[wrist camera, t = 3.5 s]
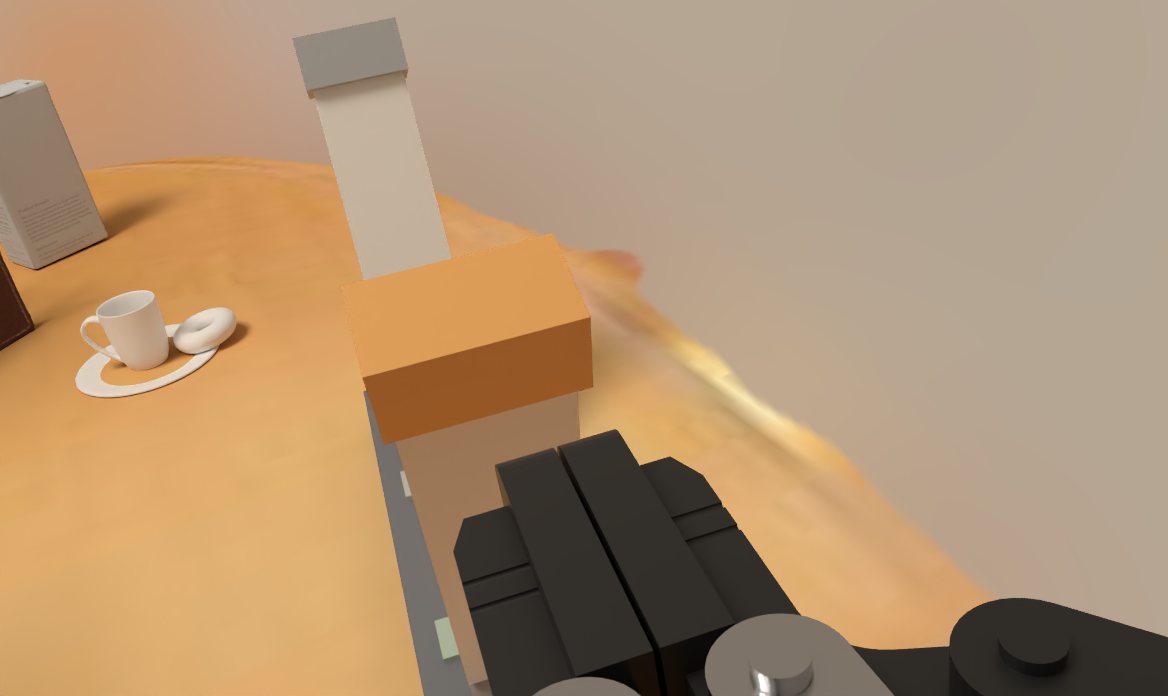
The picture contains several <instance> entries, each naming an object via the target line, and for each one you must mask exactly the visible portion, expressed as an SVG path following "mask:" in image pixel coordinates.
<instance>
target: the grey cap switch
mask: <svg viewBox="0 0 1168 696" xmlns="http://www.w3.org/2000/svg"><path fill="white" fill-rule="evenodd" d="M293 42H294V46H295V49H296V53H297V57H298V61H299V64H300V68H301V72H302V75H303V79H304V82H305V86H306V90H307V93H308V95H309V98H310V99H312V98H314V99H315V102H316V106H317V109H318V113H319V117H320V121H321V124H322V128H323V132H324V136H325V139H326V143H327V147H328V150H329V154H330V158H331V161H332V165H333V169H334V172H335V176H336V180H337V183H338V187H339V191H340V194H341V198H342V202H343V205H344V209H345V213H346V216H347V220H348V224H349V227H350V231H351V235H352V238H353V242H354V246H355V249H356V253H357V257H358V260H359V264H360V268H361V271H362V275H363V279H364V280H368V279H372V278H376V277H380V276H384V275H388V274H392V273H396V272H400V271H404V270H408V269H412V268H416V267H420V266H424V265H428V264H432V263H436V262H440V261H444V260H448V259H452V258H451V254H450V250H449V246H448V242H447V239H446V235H445V231H444V227H443V223H442V219H441V216H440V212H439V208H438V204H437V200H436V196H435V193H434V189H433V185H432V181H431V177H430V174H429V169H428V166H427V162H426V158H425V154H424V151H423V146H422V143H421V139H420V135H419V131H418V127H417V124H416V120H415V116H414V112H413V108H412V104H411V101H410V96H409V93H408V89H407V85H406V81H405V78H406V77H407V73H408V65H407V62H406V58H405V54H404V50H403V47H402V42H401V39H400V35H399V31H398V27H397V23H396V19H395V18H389V19H385V20H380V21H375V22H370V23H365V24H360V25H355V26H351V27H346V28H341V29H336V30H331V31H326V32H321V33H316V34H311V35H306V36H302V37H297V38H293Z"/></svg>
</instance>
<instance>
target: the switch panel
mask: <svg viewBox="0 0 1168 696" xmlns="http://www.w3.org/2000/svg"><path fill="white" fill-rule="evenodd" d="M364 396H365V401H366V406H367V411H368V416H369V421H370V426H371V431H372V436H373V441H374V446H375V451H376V456H377V461H378V466H379V471H380V476H381V481H382V486H383V491H384V496H385V501H386V507H387V512H388V517H389V522H390V527H391V532H392V537H393V542H394V547H395V552H396V557H397V562H398V567H399V572H400V577H401V582H402V587H403V592H404V597H405V602H406V607H407V612H408V617H409V622H410V627H411V632H412V637H413V642H414V647H415V652H416V657H417V662H418V667H419V673H420V678H421V683H422V688H423V693H424V696H472V695H471V691H470V687H469V684H468V681H467V677H466V674H465V671H464V668H463V664H462V661H461V658H460V654H459V651H458V648H457V644H456V641H455V638H454V634H453V631H452V628H451V624H450V621H449V618H448V614H447V611H446V608H445V604H444V601H443V598H442V595H441V591H440V588H439V585H438V581H437V578H436V575H435V571H434V568H433V565H432V561H431V558H430V555H429V551H428V548H427V545H426V541H425V538H424V535H423V531H422V528H421V525H420V521H419V518H418V515H417V512H416V508H415V505H414V502H413V498H412V495H411V492H410V488H409V485H408V482H407V478H406V475H405V472H404V468H403V465H402V462H401V458H400V455H399V452H398V448H397V445H396V442H393V443H390V444H386V445H384V444H383V441H382V437H381V434H380V431H379V428H378V425H377V422H376V419H375V415H374V412H373V409H372V406H371V403H370V400H369V397H368V393H367V391H364Z"/></svg>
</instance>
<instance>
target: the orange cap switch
mask: <svg viewBox="0 0 1168 696" xmlns="http://www.w3.org/2000/svg"><path fill="white" fill-rule="evenodd" d="M341 290H342V294H343V299H344V303H345V307H346V311H347V315H348V319H349V324H350V328H351V332H352V336H353V340H354V344H355V349H356V353H357V357H358V361H359V365H360V369H361V374H362V378H363V381H364V384H365V387H366V390H367V393H368V397H369V400H370V403H371V406H372V409H373V412H374V415H375V419H376V422H377V425H378V428H379V431H380V434H381V437H382V441H383V444H384V445H386V444H390V443H393V442H396V445H397V448H398V452H399V455H400V458H401V462H402V465H403V468H404V472H405V475H406V478H407V482H408V485H409V488H410V492H411V495H412V498H413V502H414V505H415V508H416V512H417V515H418V518H419V521H420V525H421V528H422V531H423V535H424V538H425V541H426V545H427V548H428V551H429V555H430V558H431V561H432V565H433V568H434V571H435V575H436V578H437V581H438V585H439V588H440V591H441V595H442V598H443V601H444V604H445V608H446V611H447V614H448V618H449V621H450V624H451V628H452V631H453V634H454V638H455V641H456V644H457V648H458V651H459V654H460V658H461V661H462V664H463V668H464V671H465V674H466V677H467V681H468V684H469V687H470V691H471V695H472V696H493V695H492V691H491V688H490V684H489V681H488V677H487V673H486V670H485V666H484V662H483V659H482V655H481V651H480V648H479V644H478V640H477V637H476V633H475V629H474V626H473V622H472V618H471V615H470V611H469V607H468V604H467V600H466V597H465V593H464V589H463V586H462V582H461V578H460V575H459V571H458V567H457V564H456V560H455V556H454V553H453V550H454V547H455V544H456V541H457V538H458V534H459V531H460V528H461V525H462V522H463V519H464V518H468V517H471V516H474V515H478V514H481V513H484V512H488V511H491V510H494V509H498V508H501V507H504V506H503V502H502V497H501V493H500V489H499V485H498V481H497V476H496V471H495V464H499V463H502V462H506V461H509V460H512V459H516V458H519V457H523V456H526V455H530V454H533V453H536V452H540V451H543V450H547V449H550V448H554V449H555V450H556V452H557V446H560V445H563V444H566V443H570V442H573V441H577V440H580V428H579V411H578V393H577V391H580V390H584V389H587V388H591V387H593V374H592V347H591V321H590V315H589V313H588V311H587V308H586V306H585V304H584V302H583V299H582V297H581V295H580V292H579V290H578V288H577V286H576V283H575V281H574V279H573V277H572V274H571V272H570V270H569V268H568V265H567V263H566V261H565V259H564V256H563V254H562V252H561V249H560V247H559V245H558V243H557V240H556V238H555V236H554V234H548V235H544V236H540V237H536V238H532V239H528V240H524V241H520V242H516V243H512V244H508V245H504V246H500V247H496V248H492V249H488V250H484V251H480V252H476V253H472V254H468V255H464V256H460V257H456V258H452V259H448V260H444V261H440V262H436V263H432V264H428V265H424V266H420V267H416V268H412V269H408V270H404V271H400V272H396V273H392V274H388V275H384V276H380V277H376V278H372V279H368V280H364V281H359V282H355V283H351V284H347V285H343V286H341Z"/></svg>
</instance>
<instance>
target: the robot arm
mask: <svg viewBox="0 0 1168 696" xmlns="http://www.w3.org/2000/svg"><path fill="white" fill-rule="evenodd" d="M495 471H496V476H497V481H498V485H499V489H500V493H501V497H502V502H503V506H504V507H501V508H498V509H494V510H491V511H488V512H484V513H481V514H478V515H474V516H471V517H468V518H464V519H463V522H462V525H461V528H460V531H459V534H458V538H457V541H456V544H455V547H454V550H453V553H454V556H455V560H456V564H457V567H458V571H459V575H460V578H461V582H462V586H463V589H464V593H465V597H466V600H467V604H468V607H469V611H470V615H471V618H472V622H473V626H474V629H475V633H476V637H477V640H478V644H479V648H480V651H481V655H482V659H483V662H484V666H485V670H486V673H487V677H488V681H489V684H490V688H491V691H492V695H493V696H1168V637H1165V636H1162V635H1159V634H1155V633H1152V632H1149V631H1145V630H1142V629H1138V628H1135V627H1131V626H1128V625H1125V624H1121V623H1118V622H1115V621H1111V620H1108V619H1105V618H1102V617H1098V616H1095V615H1091V614H1088V613H1085V612H1081V611H1078V610H1075V609H1071V608H1068V607H1065V606H1061V605H1058V604H1055V603H1050V602H1046V601H1042V600H1035V599H1028V598H1008V599H999V600H995V601H991V602H987V603H984V604H982V605H979V606H977V607H975V608H973V609H972V610H970V611H968V612H967V613H966V614H965V615H963V616H962V617H961V618H960V619H959V620H958V622H957V623H956V625H955V626H954V628H953V631H952V633H951V636H950V645H949V646H947V647H930V648H914V649H897V650H877V649H868V648H861V647H857V646H852V645H850V644H849V643H848V641H847V640H846V639H845V638H844V637H843V636H841V635H840V634H839V633H838V632H837V631H835V630H834V629H833V628H831V627H830V626H828V625H826V624H824V623H822V622H820V621H818V620H815V619H812V618H809V617H805V616H801V615H800V613H799V612H798V611H797V610H796V608H795V607H794V605H793V604H792V602H791V601H790V599H789V598H788V597H787V595H786V594H785V592H784V591H783V589H782V588H781V587H780V585H779V584H778V582H777V581H776V579H775V578H774V577H773V575H772V574H771V572H770V571H769V569H768V568H767V566H766V565H765V564H764V562H763V561H762V559H761V558H760V556H759V555H758V554H757V552H756V551H755V549H754V548H753V546H752V545H751V544H750V542H749V541H748V539H747V538H746V536H745V535H744V533H743V532H742V531H741V530H739V529H738V527H737V523H736V522H735V521H734V519H733V518H732V516H731V515H730V513H729V512H728V511H727V509H726V508H725V507H724V508H723V506H722V502H721V500H720V499H719V498H718V496H717V495H716V493H715V492H714V490H713V489H712V488H711V486H710V485H709V483H708V482H707V480H706V479H705V478H704V476H703V475H702V474H700V473H698V472H697V471H695V470H693V469H691V468H689V467H688V466H686V465H684V464H682V463H681V462H679V461H677V460H675V459H674V458H672V457H667V458H663V459H660V460H657V461H653V462H650V463H647V464H643V465H640V466H639V464H638V462H637V461H636V459H635V458H634V456H633V454H632V453H631V451H630V449H629V448H628V446H627V444H626V443H625V441H624V439H623V438H622V436H621V435H620V433H619V432H618V431H617V430H616V429H614V430H611V431H607V432H604V433H601V434H597V435H594V436H590V437H587V438H583V439H580V440H577V441H573V442H570V443H566V444H563V445H560V446H557V452H556V450H555V449H554V448H550V449H547V450H543V451H540V452H536V453H533V454H530V455H526V456H523V457H519V458H516V459H512V460H509V461H506V462H502V463H499V464H495Z"/></svg>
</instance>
